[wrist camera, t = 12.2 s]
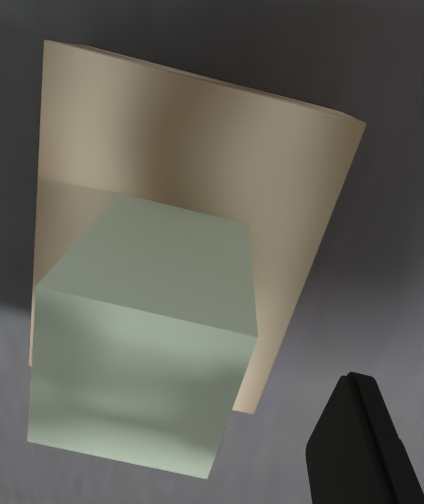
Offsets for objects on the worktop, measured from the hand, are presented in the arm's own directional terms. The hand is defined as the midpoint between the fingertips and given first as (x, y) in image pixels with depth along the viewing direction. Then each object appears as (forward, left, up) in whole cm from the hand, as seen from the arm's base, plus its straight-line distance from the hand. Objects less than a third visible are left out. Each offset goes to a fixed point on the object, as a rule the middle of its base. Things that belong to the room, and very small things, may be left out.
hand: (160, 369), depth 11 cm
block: (+1, 0, -6) cm, 6 cm away
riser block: (+1, 0, -10) cm, 10 cm away
